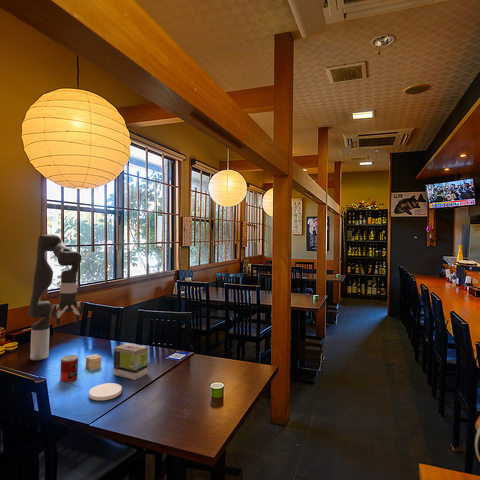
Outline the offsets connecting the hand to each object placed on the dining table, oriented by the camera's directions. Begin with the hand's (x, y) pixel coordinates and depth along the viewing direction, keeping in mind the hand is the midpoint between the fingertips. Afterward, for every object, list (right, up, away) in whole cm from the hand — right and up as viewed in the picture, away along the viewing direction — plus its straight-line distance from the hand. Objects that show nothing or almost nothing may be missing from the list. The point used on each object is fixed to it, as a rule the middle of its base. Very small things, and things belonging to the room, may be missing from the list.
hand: (67, 323), depth 162 cm
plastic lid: (+24, -30, -13) cm, 40 cm away
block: (+5, -29, +19) cm, 35 cm away
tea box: (+28, -30, +11) cm, 42 cm away
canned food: (0, -29, +2) cm, 29 cm away
